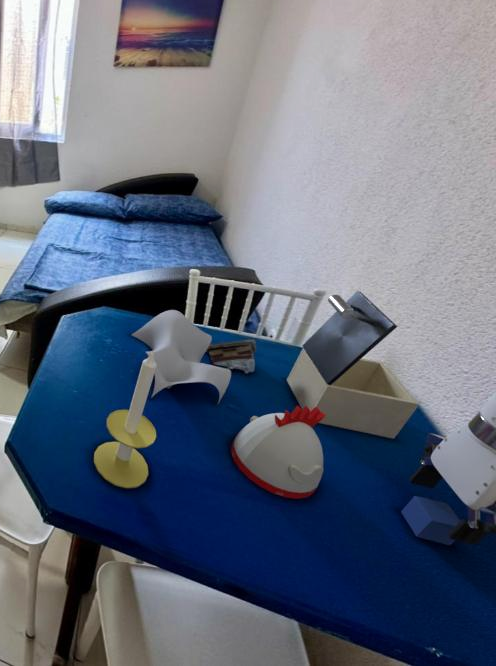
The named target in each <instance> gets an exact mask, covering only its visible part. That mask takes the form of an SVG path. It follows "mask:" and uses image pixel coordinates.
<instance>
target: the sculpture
mask: <svg viewBox="0 0 496 666" xmlns="http://www.w3.org/2000/svg"><path fill="white" fill-rule="evenodd" d="M131 336H132V337H134V338H137V339H138V340H140V341H142V342H144V343H145V344H146V345H147V346H148V347H149V348H151V351H145V353H146V355H147V357H149V356H150V355H151V353H153V354H154V361H155V363H156V365H157V366H156V370H155V373H154V386H153V387H154V388H153V391H152V395H151V397H150V399H152V398H153V397H154V396H155V395H156V394H158V393H159V392H160V391H162V390H163V389H165V388H167V389H170V388H172V387H173V386H175V385H177V384H189V383H207V384H210V385H213V386H215V388H216V389H217V390H218V393H219V397H218V398H219V399H218V402H217V405H216V406H218V405H219V403H220V401H221V400H222V398H223V397H224V395H225V393H226V391H227V388H228V386H229V384H230V381H231V378H232V371H230V370H229V369H227V367H222V366H218V365H214V364H207V363H203V362H201V360H202V358H203V357H204V355H205V353H207V352H206V350H207V348H208V347H209V345H210V344H212V339H213V337H212V335H210V334H208V333H206V332H205V331H203V330H201V328H199V327H198V326H197V325H196V324H194V323H193V322H192V321H190V319H189V318H188V317H186V315H184V314H183V313H182V312H180V311H178V310H176V309H168V310H164V311H163V312H161V313H159V314H158V315H156V316H155V317H153V318H151V319H150V321H148V322H146V323H145V324H144V325H143V326H142V327H141V328H139V329H138V330H137V331H135V332H133V333H132V334H131ZM153 351H154V352H153Z"/></svg>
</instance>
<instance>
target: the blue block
mask: <svg viewBox="0 0 496 666" xmlns="http://www.w3.org/2000/svg"><path fill="white" fill-rule="evenodd" d="M400 513H401V514H402V516H403V518H404V519H405V521H406V522H407V524H408V526H409V528H410V529H411V530H412V532H413V533H414V535H415V537H416V538H419V539H422V540H428V541H432V542H434V543H438V544H442V545H446V546H451V545H452V544H453V543H454V542H455V541H456V540H452V539H450V537H449V536H448V533H449V532H450V531H451V530H452V529H453V528H454V527H455V526H456V525H457V524H458V523H459V522H460V521H461V519H460V518H459V517H458V516H457V514H456V513H455V512H454V510H453V509H452V508H451V506H450V505H449V504H448V502H443V501H438V500H435V499H429V498H426V497H422V496H418V495H413V497H412V498H411V499H410V500H409V502H408V503H407V504H406V506H404V507H403V509H402V510H401V511H400Z"/></svg>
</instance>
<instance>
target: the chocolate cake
mask: <svg viewBox="0 0 496 666" xmlns="http://www.w3.org/2000/svg"><path fill="white" fill-rule="evenodd" d="M256 342H257V338H256V339H253V338H252V339H244V340H242V339H241V340H234V341H227V342H218V343H210V345H209V347H208V348H207V350H206V352H205V353H207V354H208V355H209V358H210V360H211V365H214V366H218V367H224V368H226V369H229V370H230V371H231V372H233V371H234V369H235V370H240V371H243V373H244V374H250V373H254V371H255V369H256V360H255V356H254V354H255V353H256V351H257V348H258V346H257V343H256Z"/></svg>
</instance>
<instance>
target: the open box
mask: <svg viewBox="0 0 496 666" xmlns="http://www.w3.org/2000/svg"><path fill="white" fill-rule="evenodd" d="M286 382H287V384H288V385H289V387H290V390H291V391H292V394H293V395H294V397H295V399H296V400H297V402H298V404H299V407H300V408H301V409H302V410H303V408H304V407H305V406H307V407H308V408H309V409H310V412H311V411H312V410H313V409H314V408H315V407H317V408H318V409H319V410H320V412H323V413H324V414H325V415H326V416H325V417H324V418H323V419H322V420H321V421H319V422H318V423H317V424H322V425H326V426H327V425H328V426H332V427H336V428H341V429H346V430H352V431H356V432H360V433H365V434H368V435H369V434H370V435H375V436H379V437H384V438H388V439H393V440H394V439H396V437H397V435H398V434H399V433H400V431H401V430H402V429H403V427H404V426H405V425H406V424H407V422H408V421H409V419H410V418H411V417H412V415H413V414H414V413H415V411H416V410H417V409H418V407H419V406H420V403H419V402H418V401H417V400H416V399H415V397H414V396H413V395H412V394H411V393H410V392H409V391H408V389H407V388H406V387H405V386H404V385H403V384H402V383H401V382H400V381H399V379H398V378H397V377H396V376H395V375H394V374H393V373H392V371H390V368H388V367H387V366H386V365H385V363H384V362H383V361H379V360H373V359H367V358H363V357H362V358H361V359H360V360H359V361H358V362H357V363H356V364H354V365H353V366H352V367H351V368H350V369H349V370H348V371H347V372H345V373H344V374H343V375H342V376H341V377H340V378H339V379H337V380H336V381H335V382H334V383H333V384H332V385H328V384H327V383H326V382H325V380H324V379H323V377H322V376H321V374H320V372H319V371H318V369H317V368H316V366H315V365H314V363H313V362H312V360H311V359H310V357H309V356H308V354H307V352H306V351H305V349H304V348H303V347H302V349H301V351H300V353H299V355H298V357H297V358H296V361H295V363H294V364H293V367H292V368H291V371H290V373H289V375H288V377H286Z"/></svg>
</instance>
